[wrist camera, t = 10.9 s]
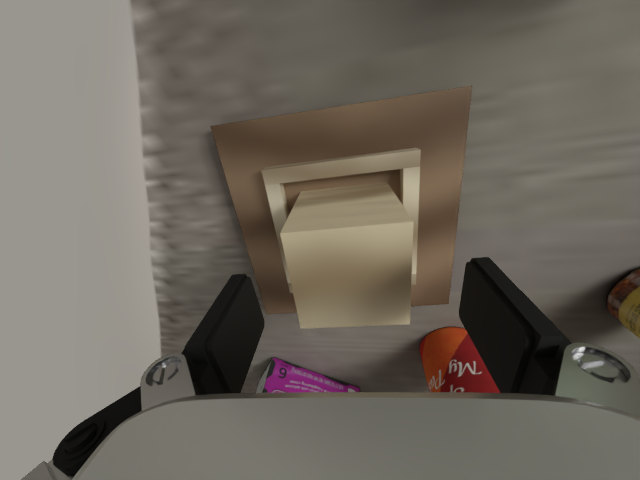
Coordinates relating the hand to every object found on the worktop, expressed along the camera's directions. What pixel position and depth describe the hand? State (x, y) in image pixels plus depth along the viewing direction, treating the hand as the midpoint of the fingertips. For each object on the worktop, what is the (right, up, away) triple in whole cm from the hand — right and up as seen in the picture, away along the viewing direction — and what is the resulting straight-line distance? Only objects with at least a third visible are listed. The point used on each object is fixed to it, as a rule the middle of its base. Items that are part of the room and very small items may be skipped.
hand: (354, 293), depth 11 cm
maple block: (0, +3, +8) cm, 8 cm away
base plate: (0, +4, +9) cm, 10 cm away
